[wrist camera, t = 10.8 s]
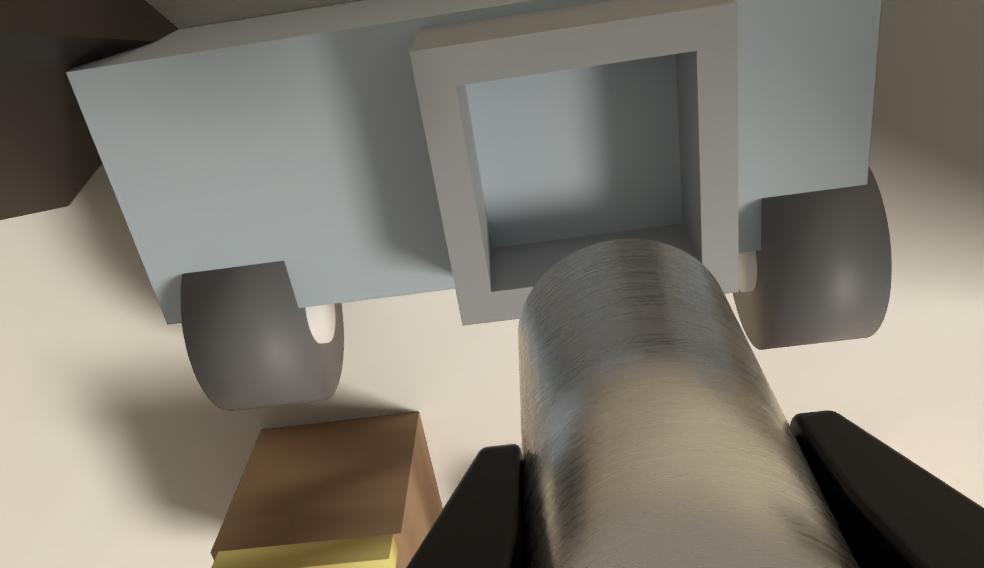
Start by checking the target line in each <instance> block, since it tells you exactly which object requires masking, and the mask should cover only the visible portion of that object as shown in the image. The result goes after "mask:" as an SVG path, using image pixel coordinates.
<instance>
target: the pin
mask: <svg viewBox="0 0 984 568" xmlns="http://www.w3.org/2000/svg"><path fill="white" fill-rule="evenodd" d="M518 341H519V371H520V402H521V433H522V457H523V477H524V508H525V539H526V568H859V566H858V564H857V561H856V559H855V557H854V555H853V553H852V551H851V549H850V547H849V545H848V543H847V541H846V539H845V537H844V535H843V533H842V531H841V529H840V527H839V525H838V523H837V521H836V519H835V517H834V515H833V513H832V511H831V509H830V507H829V505H828V503H827V501H826V499H825V497H824V495H823V493H822V491H821V489H820V487H819V485H818V483H817V481H816V479H815V477H814V475H813V473H812V471H811V469H810V466H809V464H808V462H807V460H806V458H805V456H804V454H803V452H802V450H801V448H800V446H799V444H798V442H797V440H796V438H795V436H794V434H793V432H792V430H791V428H790V426H789V424H788V422H787V420H786V418H785V416H784V414H783V412H782V410H781V408H780V406H779V404H778V402H777V400H776V398H775V396H774V394H773V392H772V390H771V388H770V386H769V384H768V382H767V380H766V378H765V376H764V374H763V371H762V369H761V367H760V365H759V363H758V361H757V359H756V357H755V355H754V353H753V351H752V349H751V347H750V345H749V343H748V341H747V339H746V337H745V335H744V333H743V331H742V329H741V327H740V325H739V323H738V321H737V319H736V317H735V315H734V313H733V311H732V309H731V307H730V305H729V303H728V301H727V299H726V297H725V295H724V293H723V291H722V289H721V287H720V285H719V283H718V282H717V280H716V279H715V277H714V276H713V275H712V273H711V272H710V271H709V270H708V269H707V268H706V267H705V266H704V265H703V264H702V263H701V262H700V261H698V260H697V259H696V258H694V257H693V256H691V255H690V254H688V253H686V252H685V251H683V250H681V249H678V248H676V247H674V246H672V245H668V244H665V243H662V242H658V241H653V240H647V239H632V238H628V239H615V240H609V241H604V242H600V243H596V244H593V245H590V246H587V247H584V248H582V249H580V250H578V251H575V252H573V253H572V254H570V255H568V256H567V257H565V258H563V259H561V260H560V261H559V262H558V263H556V264H555V265H554V266H552V267H551V268H550V269H549V270H548V271H547V272H546V273H545V274H544V275H543V276H542V277H541V278H540V279H539V281H538V282H537V283H536V284H535V286H534V287H533V288H532V290H531V292H530V294H529V295H528V297H527V299H526V301H525V304H524V306H523V309H522V312H521V317H520V321H519V331H518Z"/></svg>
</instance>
